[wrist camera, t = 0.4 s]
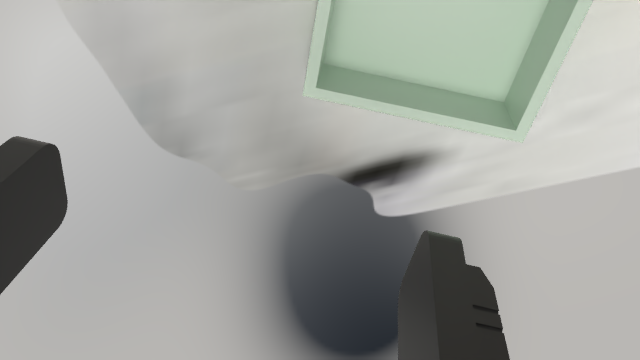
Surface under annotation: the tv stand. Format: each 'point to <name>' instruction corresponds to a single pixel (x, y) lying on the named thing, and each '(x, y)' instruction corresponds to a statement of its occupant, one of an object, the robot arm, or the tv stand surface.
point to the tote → (443, 59)
